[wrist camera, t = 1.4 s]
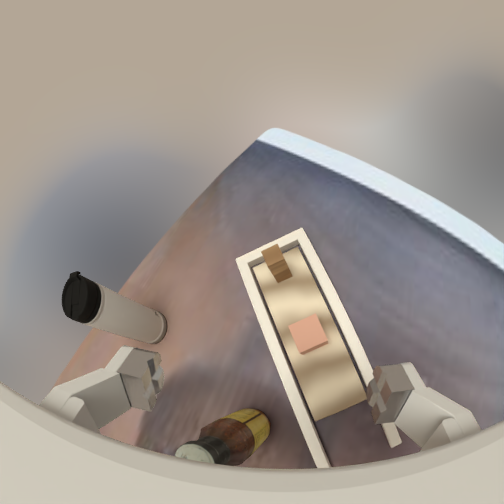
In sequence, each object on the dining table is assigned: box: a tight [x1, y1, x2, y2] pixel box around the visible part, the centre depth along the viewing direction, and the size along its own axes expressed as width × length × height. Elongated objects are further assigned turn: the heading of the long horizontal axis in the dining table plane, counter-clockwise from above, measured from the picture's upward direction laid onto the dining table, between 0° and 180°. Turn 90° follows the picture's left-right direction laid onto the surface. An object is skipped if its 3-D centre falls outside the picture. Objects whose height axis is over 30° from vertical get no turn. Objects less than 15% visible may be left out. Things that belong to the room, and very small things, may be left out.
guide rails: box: [236, 228, 402, 468], centre depth 37 cm, size 38×12×2 cm, turn 21°
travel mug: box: [62, 271, 167, 344], centre depth 39 cm, size 6×7×20 cm
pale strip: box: [253, 244, 367, 421], centre depth 36 cm, size 26×8×8 cm, turn 21°
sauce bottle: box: [175, 408, 270, 466], centre depth 27 cm, size 6×6×20 cm
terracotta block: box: [288, 313, 328, 355], centre depth 36 cm, size 4×4×4 cm
